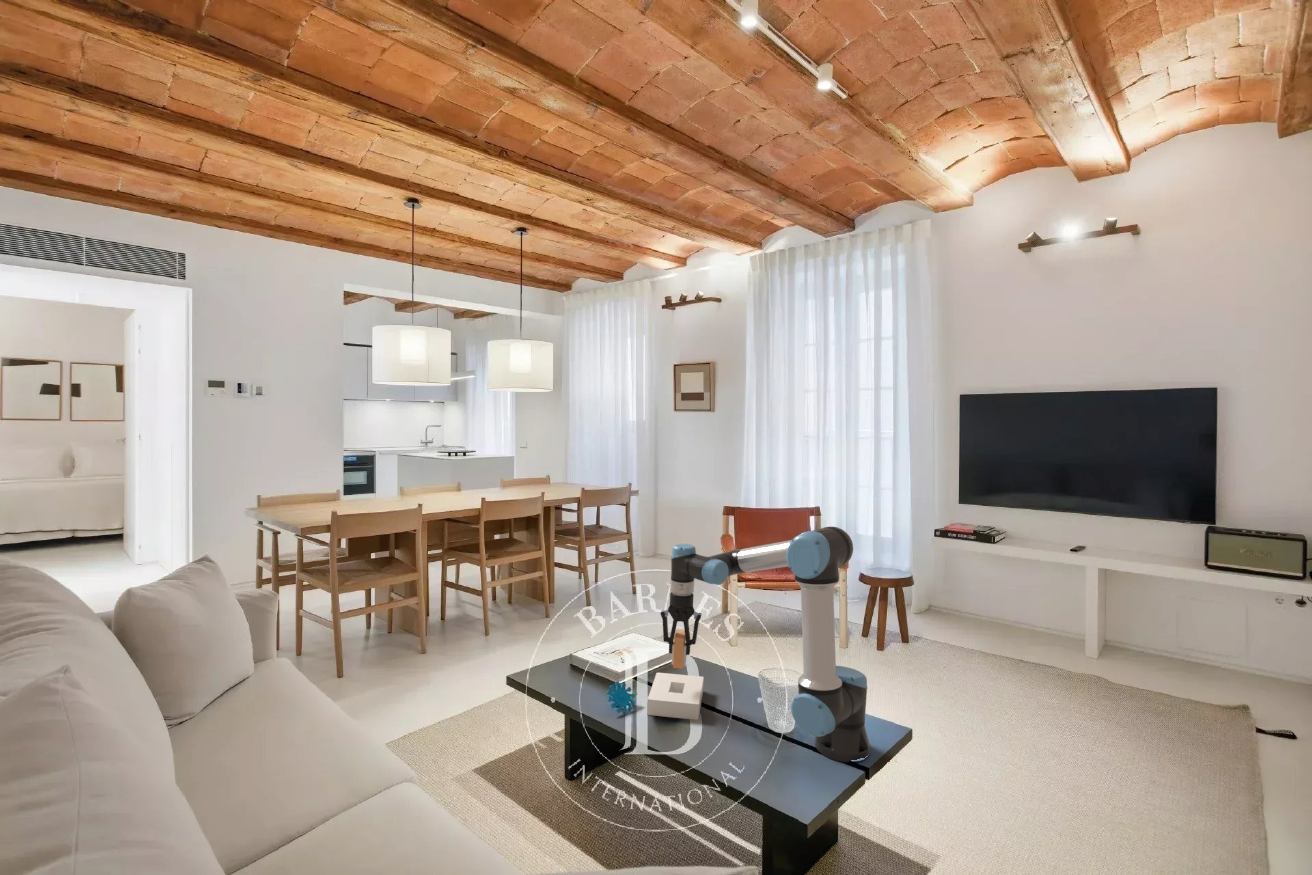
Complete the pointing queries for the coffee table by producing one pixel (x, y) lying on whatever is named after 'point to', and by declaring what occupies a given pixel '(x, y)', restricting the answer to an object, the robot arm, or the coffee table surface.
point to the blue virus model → (621, 697)
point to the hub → (675, 696)
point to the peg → (679, 649)
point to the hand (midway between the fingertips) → (678, 663)
